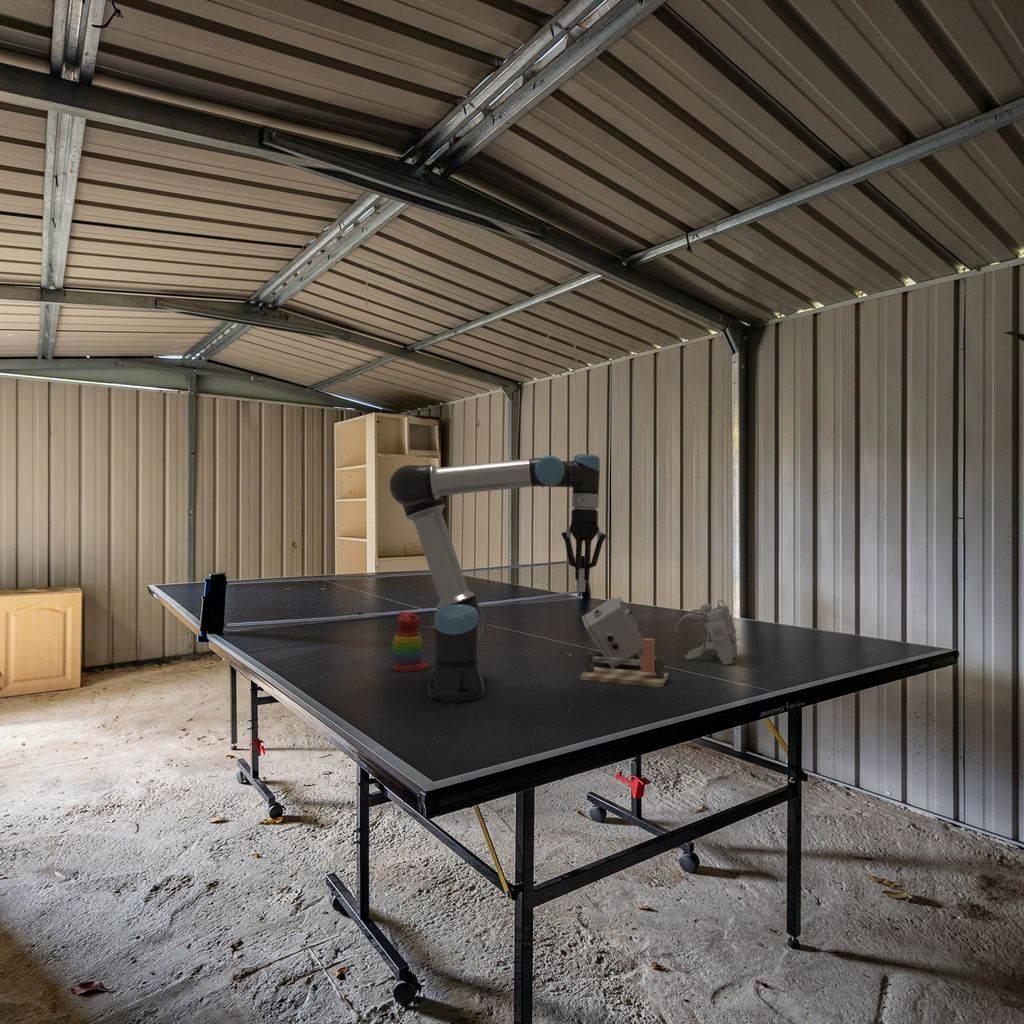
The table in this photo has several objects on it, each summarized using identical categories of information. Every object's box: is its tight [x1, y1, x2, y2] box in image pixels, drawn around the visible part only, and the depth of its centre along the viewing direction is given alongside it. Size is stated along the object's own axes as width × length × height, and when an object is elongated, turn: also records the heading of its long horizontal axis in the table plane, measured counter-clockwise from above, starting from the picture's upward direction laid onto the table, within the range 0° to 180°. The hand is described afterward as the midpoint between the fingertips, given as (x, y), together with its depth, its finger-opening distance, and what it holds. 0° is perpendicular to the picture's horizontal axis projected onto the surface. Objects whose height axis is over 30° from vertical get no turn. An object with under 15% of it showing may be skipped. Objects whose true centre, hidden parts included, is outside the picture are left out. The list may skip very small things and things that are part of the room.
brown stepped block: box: [640, 637, 658, 673], centre depth 192 cm, size 4×4×9 cm
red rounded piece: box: [391, 611, 430, 673], centre depth 207 cm, size 11×10×18 cm
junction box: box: [581, 596, 644, 669], centre depth 216 cm, size 24×15×22 cm
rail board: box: [579, 652, 669, 688], centre depth 195 cm, size 24×12×6 cm, turn 70°
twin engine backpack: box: [674, 599, 738, 665], centre depth 221 cm, size 18×19×20 cm
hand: (581, 591), depth 187 cm, fingers closed
